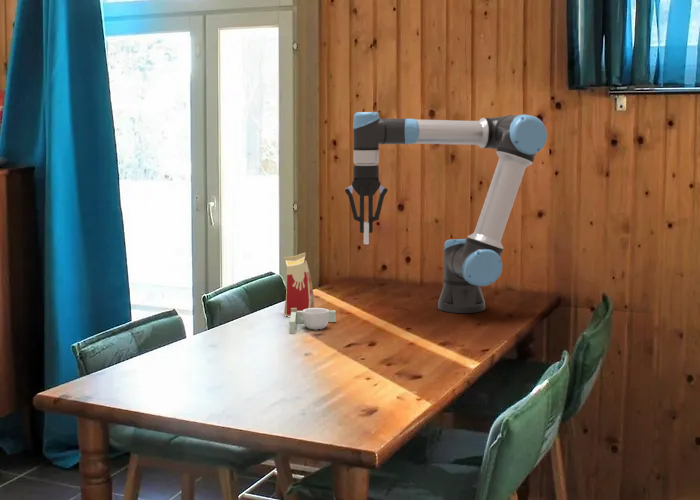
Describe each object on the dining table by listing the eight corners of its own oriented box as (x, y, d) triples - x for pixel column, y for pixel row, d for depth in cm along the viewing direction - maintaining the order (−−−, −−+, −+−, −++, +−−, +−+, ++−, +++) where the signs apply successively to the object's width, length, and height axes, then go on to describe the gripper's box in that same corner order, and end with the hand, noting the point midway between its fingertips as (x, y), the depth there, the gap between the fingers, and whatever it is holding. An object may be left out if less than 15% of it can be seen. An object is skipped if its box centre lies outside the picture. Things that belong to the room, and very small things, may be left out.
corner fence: (335, 321, 274) (335, 307, 274) (336, 333, 259) (336, 318, 259) (291, 321, 274) (290, 307, 273) (289, 333, 259) (289, 318, 258)
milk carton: (314, 311, 289) (313, 250, 286) (310, 317, 280) (309, 254, 277) (286, 311, 290) (285, 250, 287) (281, 317, 280) (280, 254, 278)
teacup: (334, 327, 266) (334, 309, 266) (318, 332, 260) (318, 314, 259) (307, 323, 272) (307, 305, 271) (291, 328, 266) (291, 310, 265)
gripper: (387, 164, 268) (387, 241, 272) (343, 164, 268) (344, 242, 271) (389, 165, 261) (388, 245, 264) (344, 165, 261) (344, 245, 264)
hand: (366, 243), depth 268 cm, fingers closed
